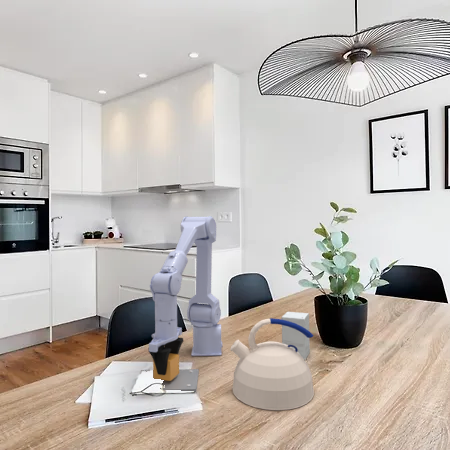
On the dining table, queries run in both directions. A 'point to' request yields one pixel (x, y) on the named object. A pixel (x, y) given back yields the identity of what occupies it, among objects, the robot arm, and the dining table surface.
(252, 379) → the kettle
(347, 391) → the dining table surface
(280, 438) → the dining table surface
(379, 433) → the dining table surface
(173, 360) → the orange cube
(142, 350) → the dining table surface
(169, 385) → the plate
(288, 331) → the supplement box
